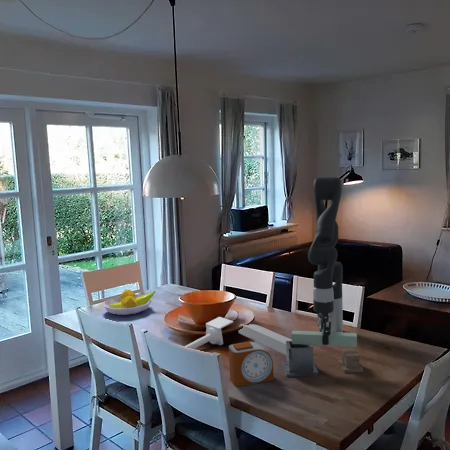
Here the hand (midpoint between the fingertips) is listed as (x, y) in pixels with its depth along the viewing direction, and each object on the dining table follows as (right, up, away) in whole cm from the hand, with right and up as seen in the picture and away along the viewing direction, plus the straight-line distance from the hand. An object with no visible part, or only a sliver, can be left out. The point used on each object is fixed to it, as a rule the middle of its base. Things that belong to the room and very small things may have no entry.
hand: (324, 341), depth 177 cm
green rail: (0, -1, 0) cm, 1 cm away
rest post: (+10, -10, +1) cm, 15 cm away
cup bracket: (-9, -11, +1) cm, 14 cm away
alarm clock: (-28, -13, -4) cm, 31 cm away
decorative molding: (-17, -8, +31) cm, 37 cm away
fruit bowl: (-90, -4, +82) cm, 122 cm away
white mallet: (-48, -10, +26) cm, 56 cm away
